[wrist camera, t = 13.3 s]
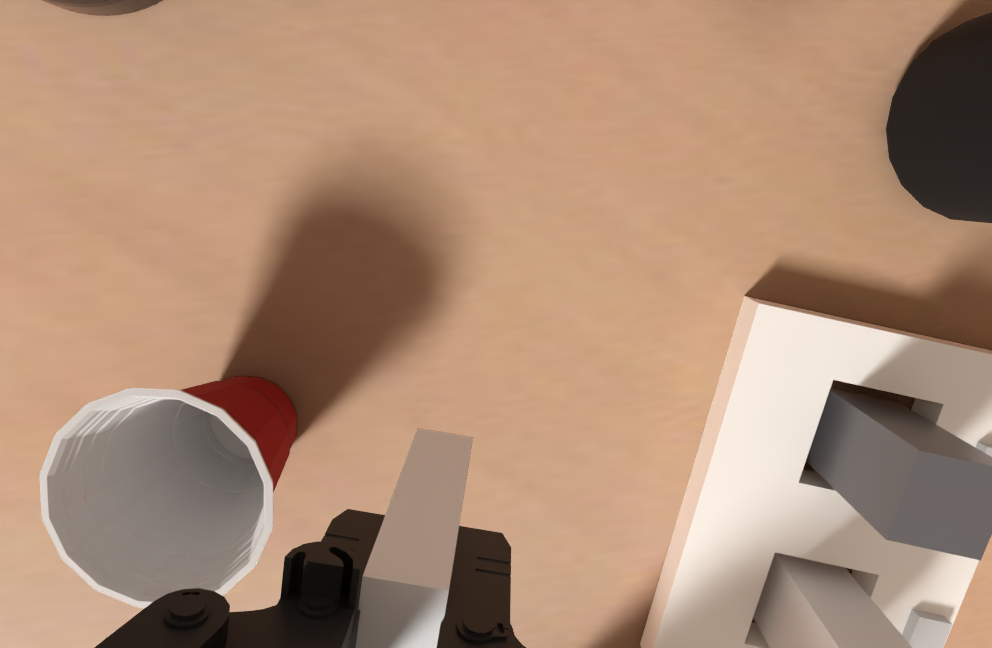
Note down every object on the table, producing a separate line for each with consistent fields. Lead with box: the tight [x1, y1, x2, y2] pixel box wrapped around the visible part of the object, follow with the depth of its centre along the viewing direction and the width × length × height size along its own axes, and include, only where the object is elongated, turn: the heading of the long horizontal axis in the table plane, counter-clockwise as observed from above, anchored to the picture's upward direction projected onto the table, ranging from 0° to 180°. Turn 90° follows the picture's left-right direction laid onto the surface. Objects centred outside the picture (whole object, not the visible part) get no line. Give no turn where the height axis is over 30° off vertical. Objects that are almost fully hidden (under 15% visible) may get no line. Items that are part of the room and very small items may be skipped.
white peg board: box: [640, 296, 992, 648], centre depth 36 cm, size 24×17×12 cm
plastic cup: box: [39, 376, 297, 608], centre depth 36 cm, size 11×11×12 cm
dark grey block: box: [806, 388, 992, 560], centre depth 36 cm, size 5×5×10 cm
